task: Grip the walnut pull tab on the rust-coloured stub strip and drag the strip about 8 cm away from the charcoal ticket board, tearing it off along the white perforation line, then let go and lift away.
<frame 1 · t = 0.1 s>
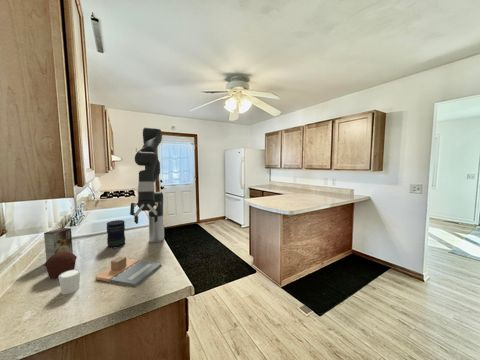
hand: (146, 222, 100), 22 cm above the countertop, tool pointing down, fingers open, 8 cm apart
ticket board: (137, 273, 94), on the countertop
muffin: (61, 274, 93), on the countertop
coffee box: (59, 259, 108), on the countertop
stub: (118, 264, 96), point 3 cm above the countertop, slide at 0.0 cm
storage jar: (116, 245, 127), on the countertop
shot glass: (70, 290, 82), on the countertop
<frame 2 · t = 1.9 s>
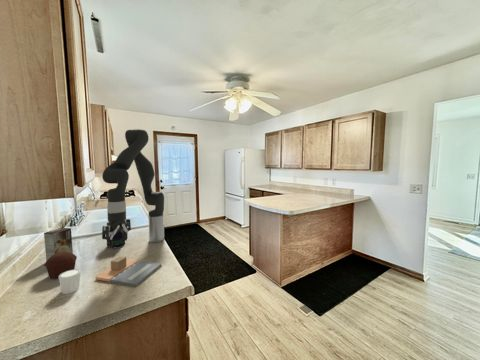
hand: (117, 243, 96), 14 cm above the countertop, tool pointing down, fingers open, 8 cm apart
nothing on the countertop moved.
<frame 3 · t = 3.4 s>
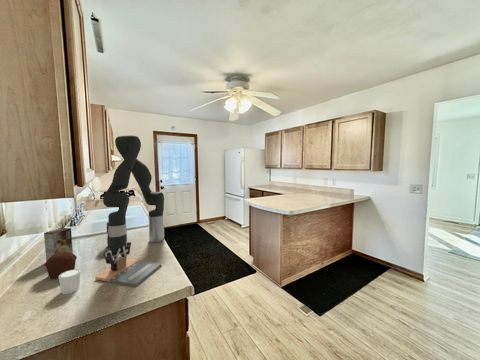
hand: (118, 267, 97), 2 cm above the countertop, tool pointing down, fingers closed on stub, 5 cm apart
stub: (118, 264, 96), point 3 cm above the countertop, slide at 0.0 cm, touching gripper
everything else where it was.
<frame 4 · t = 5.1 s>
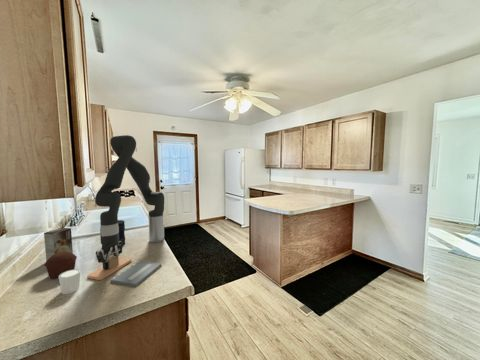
hand: (111, 266, 98), 2 cm above the countertop, tool pointing down, fingers closed on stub, 5 cm apart
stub: (111, 263, 97), point 3 cm above the countertop, slide at 4.6 cm, touching gripper
everything else where it was.
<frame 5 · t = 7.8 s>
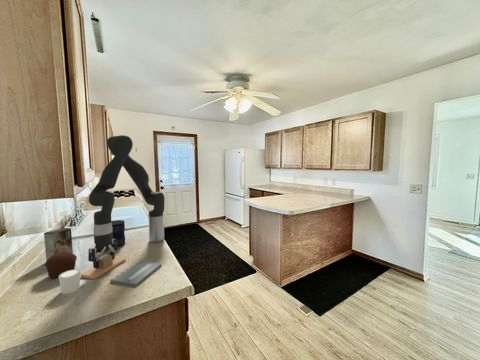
hand: (104, 263, 98), 2 cm above the countertop, tool pointing down, fingers open, 8 cm apart
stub: (104, 262, 98), point 3 cm above the countertop, slide at 8.3 cm
everything else where it was.
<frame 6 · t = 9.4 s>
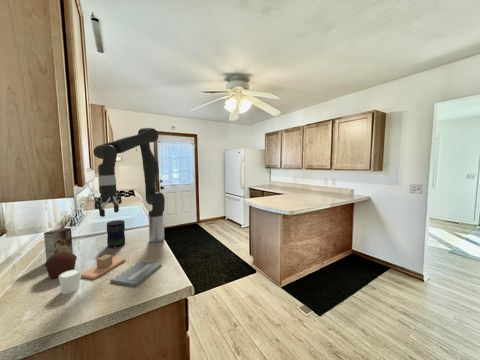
hand: (109, 214, 105), 25 cm above the countertop, tool pointing down, fingers open, 8 cm apart
nothing on the countertop moved.
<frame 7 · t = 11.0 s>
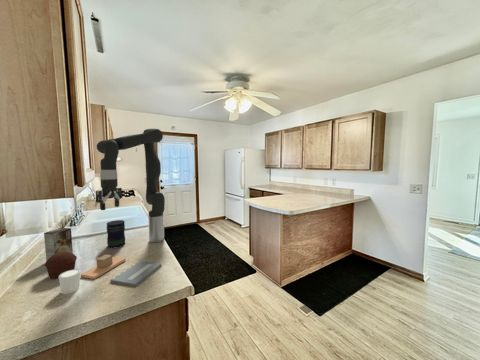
hand: (110, 208, 106), 28 cm above the countertop, tool pointing down, fingers open, 8 cm apart
nothing on the countertop moved.
at the end: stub slide at 8.3 cm; the gripper is holding nothing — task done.
